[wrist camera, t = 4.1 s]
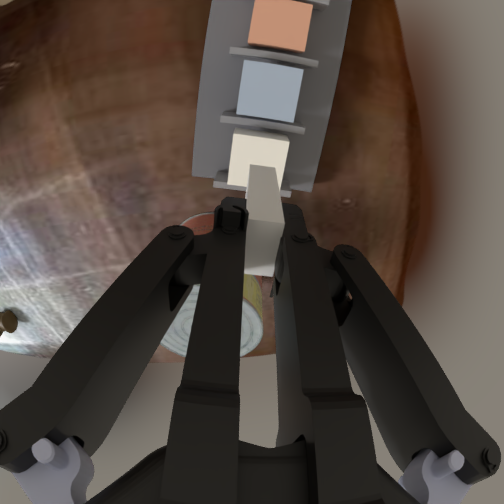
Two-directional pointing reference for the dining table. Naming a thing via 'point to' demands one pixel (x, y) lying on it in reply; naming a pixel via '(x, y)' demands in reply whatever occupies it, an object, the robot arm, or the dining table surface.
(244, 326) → the canned food
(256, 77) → the key slate
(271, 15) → the key terracotta
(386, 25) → the dining table surface
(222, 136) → the keypad
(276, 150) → the key ivory
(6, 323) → the kendama
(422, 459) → the robot arm
